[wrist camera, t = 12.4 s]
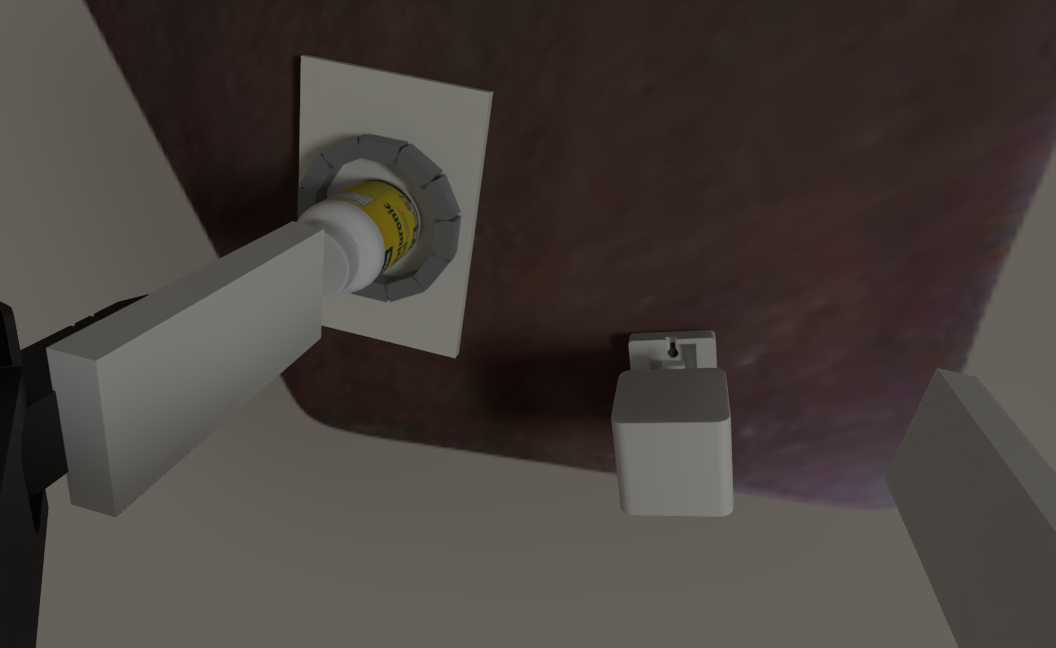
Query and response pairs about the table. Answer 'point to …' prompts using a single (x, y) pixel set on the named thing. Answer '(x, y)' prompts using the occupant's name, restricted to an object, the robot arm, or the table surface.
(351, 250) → the supplement bottle
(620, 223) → the table surface
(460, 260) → the socket board
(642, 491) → the security camera
